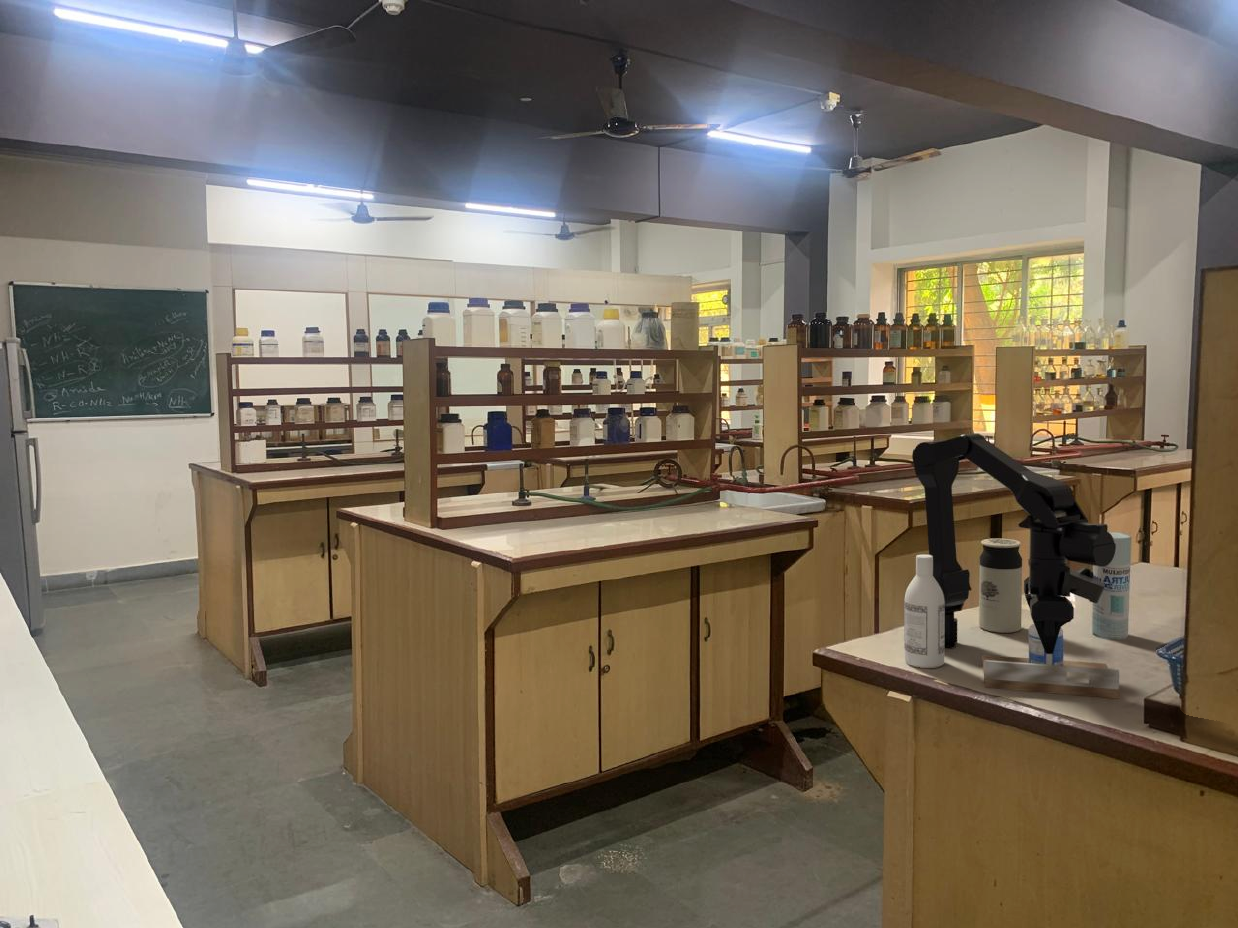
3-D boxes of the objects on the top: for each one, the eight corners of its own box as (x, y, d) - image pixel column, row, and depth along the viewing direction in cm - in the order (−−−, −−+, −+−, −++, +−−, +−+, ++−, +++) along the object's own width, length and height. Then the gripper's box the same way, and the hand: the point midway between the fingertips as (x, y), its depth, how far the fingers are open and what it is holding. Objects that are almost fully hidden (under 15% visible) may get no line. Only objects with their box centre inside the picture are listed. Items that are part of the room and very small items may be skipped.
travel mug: (1003, 621, 190) (1004, 536, 188) (1030, 631, 182) (1031, 543, 181) (970, 625, 188) (971, 539, 186) (996, 635, 180) (997, 546, 179)
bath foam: (934, 655, 170) (934, 550, 168) (951, 667, 163) (951, 558, 161) (898, 658, 169) (898, 553, 167) (914, 670, 162) (914, 560, 160)
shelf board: (985, 687, 152) (985, 661, 152) (982, 662, 165) (982, 638, 164) (1119, 698, 145) (1119, 671, 145) (1105, 671, 158) (1106, 646, 157)
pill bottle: (1058, 664, 158) (1058, 609, 157) (1067, 674, 153) (1067, 618, 152) (1024, 663, 159) (1025, 609, 158) (1032, 673, 154) (1032, 617, 153)
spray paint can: (1117, 629, 182) (1120, 531, 179) (1135, 639, 175) (1138, 537, 173) (1084, 630, 182) (1087, 532, 180) (1101, 640, 175) (1104, 538, 173)
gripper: (1110, 570, 142) (1107, 666, 144) (1093, 547, 160) (1091, 633, 161) (1032, 567, 146) (1031, 661, 148) (1024, 545, 164) (1023, 628, 165)
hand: (1046, 645), depth 156 cm, fingers open, 9 cm apart
